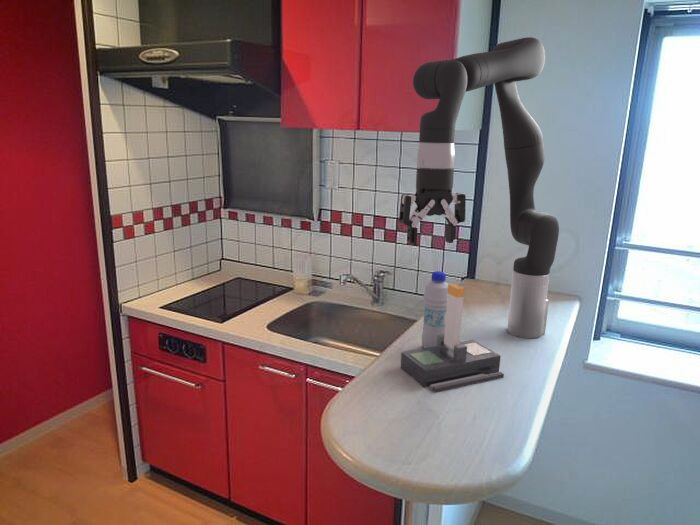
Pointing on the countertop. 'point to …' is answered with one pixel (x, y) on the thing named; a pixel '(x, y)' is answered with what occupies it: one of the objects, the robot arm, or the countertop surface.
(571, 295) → the countertop surface
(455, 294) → the lever
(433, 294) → the bottle
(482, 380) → the dark grey bar
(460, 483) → the countertop surface
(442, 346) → the switch box
